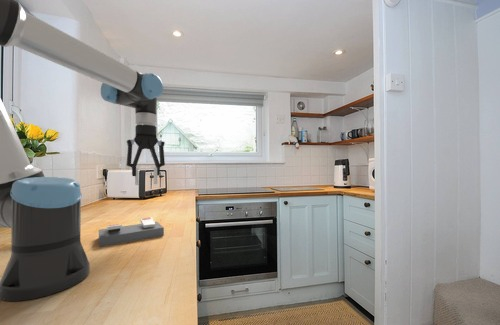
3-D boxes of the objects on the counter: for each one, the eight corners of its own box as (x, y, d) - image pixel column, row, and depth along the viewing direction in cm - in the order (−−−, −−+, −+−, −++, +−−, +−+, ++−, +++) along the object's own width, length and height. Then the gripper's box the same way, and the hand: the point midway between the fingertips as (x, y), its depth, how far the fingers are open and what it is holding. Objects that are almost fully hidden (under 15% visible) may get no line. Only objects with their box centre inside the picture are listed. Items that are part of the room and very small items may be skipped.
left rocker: (121, 227, 78) (121, 224, 78) (108, 229, 76) (108, 226, 76) (119, 227, 84) (119, 223, 84) (107, 228, 82) (107, 225, 82)
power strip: (163, 235, 84) (163, 225, 84) (99, 247, 73) (99, 235, 73) (156, 228, 93) (156, 219, 93) (98, 238, 82) (98, 227, 82)
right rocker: (155, 226, 85) (155, 223, 84) (143, 228, 82) (143, 225, 82) (151, 219, 90) (151, 216, 90) (140, 220, 88) (140, 218, 88)
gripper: (168, 128, 97) (168, 182, 97) (117, 124, 86) (117, 185, 86) (173, 126, 91) (173, 183, 91) (119, 121, 80) (119, 186, 80)
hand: (146, 184), depth 88 cm, fingers open, 6 cm apart
